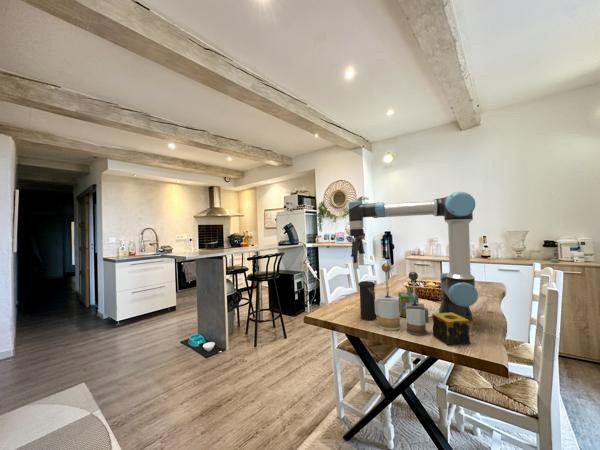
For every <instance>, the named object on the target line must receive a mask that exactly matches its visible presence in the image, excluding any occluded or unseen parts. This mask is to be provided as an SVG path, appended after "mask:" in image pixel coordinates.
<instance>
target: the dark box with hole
mask: <svg viewBox="0 0 600 450" xmlns="http://www.w3.org/2000/svg"><path fill="white" fill-rule="evenodd" d="M431 317H432V322H433V324H432V336H433V337H434V338H435V339H437V340H438V341H440V342H442V343H443V344H445V345H447V346H460V345H469V344H471V337H470V321H469V320H468V319H465V318H463V317H461V316H459V315H457V314H455V313H453V312H450V313H439V312H438V313H437V312H436V313H435V312H434V313H432V314H431Z"/></svg>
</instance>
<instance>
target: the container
mask: <svg viewBox="0 0 600 450" xmlns="http://www.w3.org/2000/svg"><path fill="white" fill-rule="evenodd" d="M357 285H358V287H359V308H360V311H359V312H360V315H359V316H360V319H361V320H363V321H375V320H377V319H378V317H377V316H378V315H377V314H375V301H374V300H375V299H376V293H375V285H376V284H375V282H373V281H370V280H365V281H364V280H363V281H360V282H358V284H357Z"/></svg>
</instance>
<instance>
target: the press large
mask: <svg viewBox="0 0 600 450" xmlns="http://www.w3.org/2000/svg"><path fill="white" fill-rule="evenodd" d="M374 301H375V314H376V315H377V316H378V317H377V319H378V325H377V326H378V327H379V328H380V329H382V330H386V331H398V330H400V329H401V328H402V327H401V319H400V318H401V317H400V316H401V315H400V313H399V297H398V295H393V294H392V295H390V294H389V298H387V294H378V296H377V298H375V300H374Z"/></svg>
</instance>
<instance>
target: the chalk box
mask: <svg viewBox="0 0 600 450" xmlns="http://www.w3.org/2000/svg"><path fill="white" fill-rule="evenodd" d="M397 296H398V299H399V316H401V318H406V303H414V299H413V292H411V288H410V287H408V289H407V292H403V291H402V292H400V291H399V292H398V294H397ZM415 297H416V303H419V302H420V301H419V296H418V295H417V293H415Z"/></svg>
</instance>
